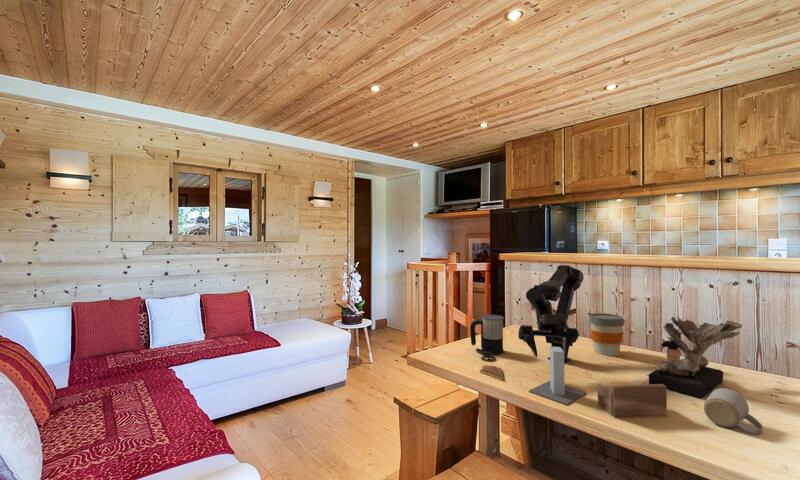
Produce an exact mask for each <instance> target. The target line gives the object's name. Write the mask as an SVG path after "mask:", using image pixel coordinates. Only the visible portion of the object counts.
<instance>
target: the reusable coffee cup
mask: <svg viewBox="0 0 800 480" xmlns="http://www.w3.org/2000/svg"><path fill="white" fill-rule="evenodd" d="M588 319H589V320H588V323H590V326H589V327H590V328H589V332H590V339H591V341H592V345H593V351H594V353H596V354H598V355H601V356H606V357H616V356H619V355H620V350H621V344H622V342H623V338H624V337H623V336H624V331H623V329H624V328H623V327H624V326H625V321H624V317H623V316H621V315H619V314H612V313H604V312H603V313H601V312H600V313H598V312H597V313H590V314H589V318H588Z"/></svg>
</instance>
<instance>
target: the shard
mask: <svg viewBox="0 0 800 480" xmlns="http://www.w3.org/2000/svg"><path fill="white" fill-rule="evenodd" d="M481 366H482V367H481V369H479V373H480V374H483V375H487V376H489V377H490V378H491V377H492V378H493V379H496V380H498V381H503V380H504V377H503V376H504V375H503V371H502V370H503V369H502V368H501V367H499V366H496V365H486V364H485V365H481Z"/></svg>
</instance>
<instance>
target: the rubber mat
mask: <svg viewBox="0 0 800 480" xmlns="http://www.w3.org/2000/svg"><path fill="white" fill-rule="evenodd" d="M528 392H529V393H531V394H533V395H537V396H539V397H542V398H545V399H548V400H550V401H552V402H556V403H558V404H562V405H565V406H568V405H570V404H572V403H574V402H575V401H578V399H580V398H582V397H584V396H586V395H587V392H585V391H583V390H580V389H576V388H572V387H570V386H567V385H564V393H565V395H554V394H553V392H552V390H551V388H550V380H548V381H545V382H544V383H541V384H540V385H538V386H535V387H533V388H531V389H529V390H528Z"/></svg>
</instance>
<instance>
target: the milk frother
mask: <svg viewBox="0 0 800 480" xmlns="http://www.w3.org/2000/svg"><path fill="white" fill-rule="evenodd" d="M504 320H505V317H504V316H502V315H500V314H499V315H498V314H484V315H481V318H476V319H474V320H473V321H471V323H470V326H469V331H470V343H471V346H476V344H477V343H476V342H477V340H476V326H477V325H480V347H481V349H480V348H478V347H477V348H475V352H477V353H478V354H479V355H480V356H481V355H482V356H483V357H484V358H486V359H488V360H490V359H493V360H494V359H495V357H496V356H495V355H497V356H499V355H502V354H504V353H505V352H504V337H503V336H504Z"/></svg>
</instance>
